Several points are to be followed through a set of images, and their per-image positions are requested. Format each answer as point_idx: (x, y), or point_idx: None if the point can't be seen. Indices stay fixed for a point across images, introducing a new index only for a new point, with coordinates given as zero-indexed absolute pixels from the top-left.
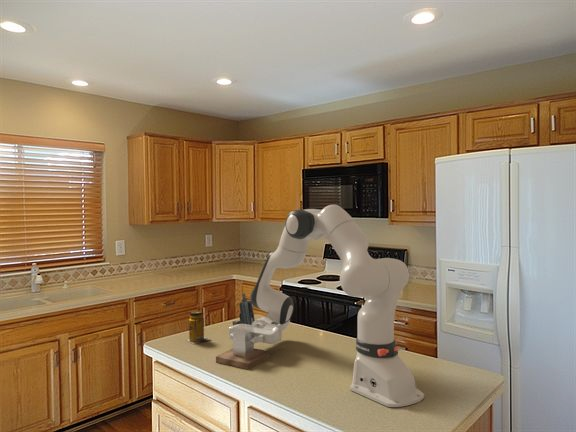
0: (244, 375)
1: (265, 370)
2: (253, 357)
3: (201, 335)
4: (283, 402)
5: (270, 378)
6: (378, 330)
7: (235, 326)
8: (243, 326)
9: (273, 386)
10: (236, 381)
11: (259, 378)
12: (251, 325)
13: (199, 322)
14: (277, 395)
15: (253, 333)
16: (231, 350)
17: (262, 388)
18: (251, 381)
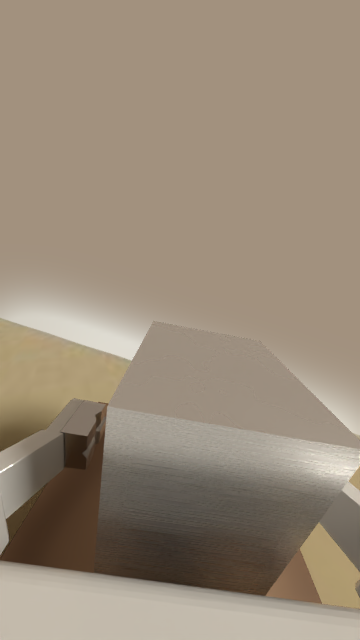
0: (100, 382)
1: (13, 430)
2: (80, 481)
3: None
4: (7, 322)
5: (8, 381)
6: None
7: (271, 354)
8: (219, 361)
9: (12, 352)
10: (113, 359)
11: (50, 376)
12: (154, 412)
13: None
14: (13, 333)
15: (102, 490)
16: (292, 572)
17: (45, 346)
18: (75, 362)
